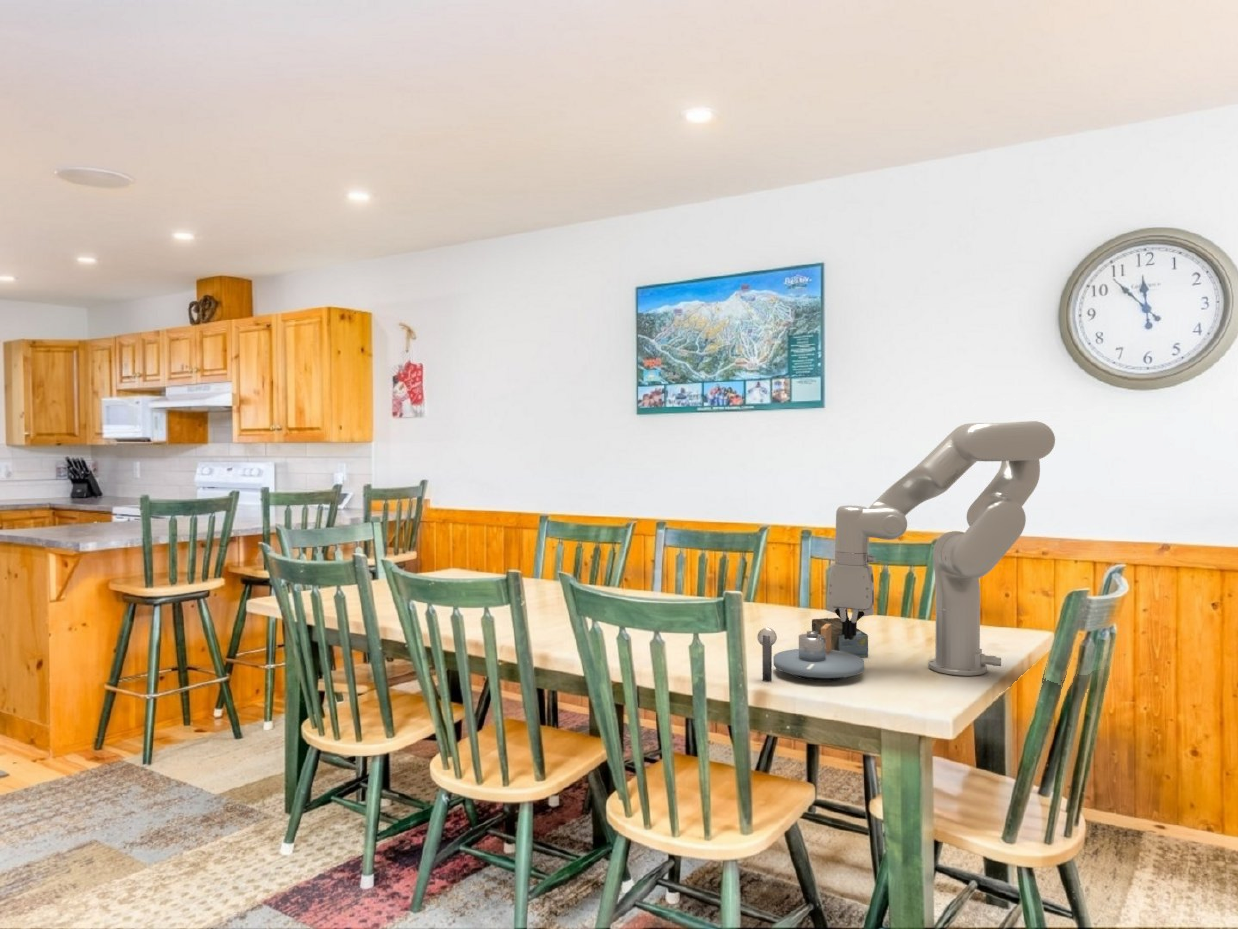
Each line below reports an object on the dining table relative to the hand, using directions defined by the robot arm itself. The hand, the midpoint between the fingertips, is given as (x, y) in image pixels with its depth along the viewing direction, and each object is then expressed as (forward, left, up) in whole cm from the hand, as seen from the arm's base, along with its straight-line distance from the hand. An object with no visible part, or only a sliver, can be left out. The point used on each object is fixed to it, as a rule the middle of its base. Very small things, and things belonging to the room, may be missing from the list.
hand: (849, 638), depth 200 cm
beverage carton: (+6, -18, -7) cm, 20 cm away
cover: (+7, +8, -4) cm, 11 cm away
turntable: (+5, +8, -5) cm, 11 cm away
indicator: (+14, +18, -7) cm, 24 cm away
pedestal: (+5, +8, -7) cm, 12 cm away
